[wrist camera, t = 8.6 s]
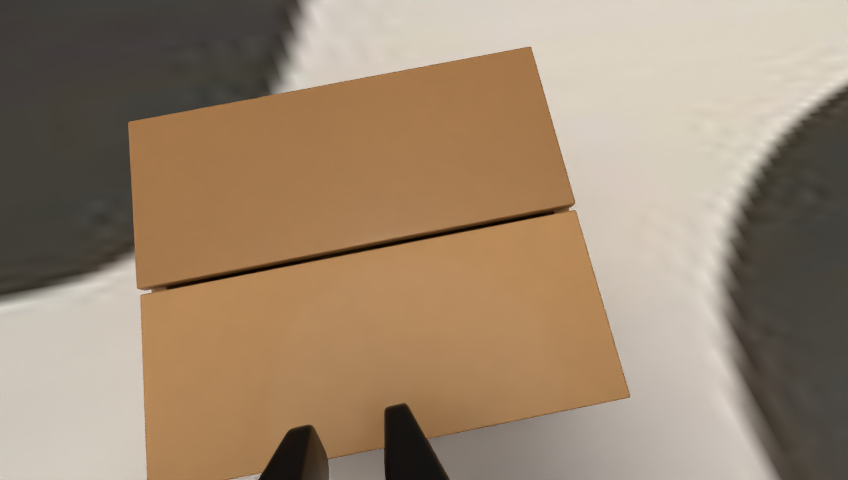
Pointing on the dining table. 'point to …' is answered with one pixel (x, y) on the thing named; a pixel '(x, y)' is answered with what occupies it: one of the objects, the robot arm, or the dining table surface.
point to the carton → (343, 169)
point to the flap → (375, 347)
